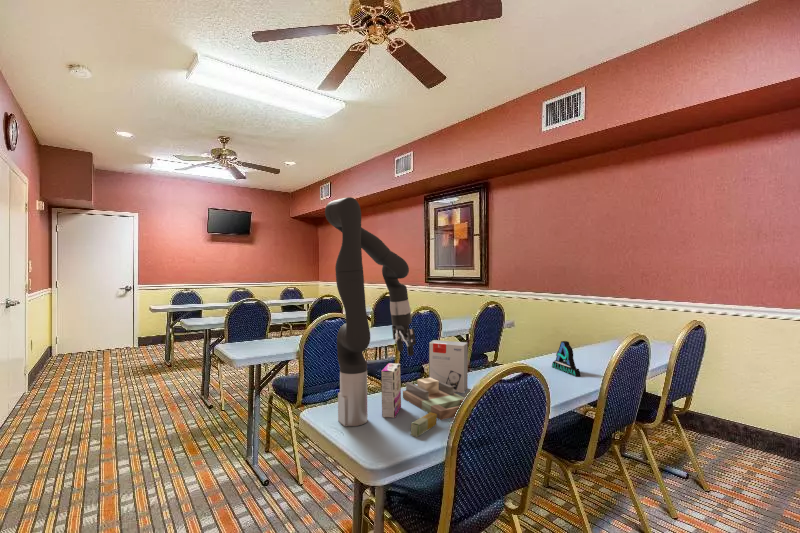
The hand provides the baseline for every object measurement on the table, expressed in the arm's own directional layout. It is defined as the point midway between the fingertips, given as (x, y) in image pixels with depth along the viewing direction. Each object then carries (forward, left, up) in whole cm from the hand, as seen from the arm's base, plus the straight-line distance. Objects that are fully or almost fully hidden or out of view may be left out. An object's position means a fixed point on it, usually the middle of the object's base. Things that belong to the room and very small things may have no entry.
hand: (405, 353), depth 154 cm
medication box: (-8, -25, -20) cm, 33 cm away
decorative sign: (+90, -1, -19) cm, 92 cm away
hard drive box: (+24, +6, -19) cm, 32 cm away
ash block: (+9, -1, -16) cm, 19 cm away
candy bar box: (-10, -6, -19) cm, 22 cm away
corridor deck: (+9, -8, -19) cm, 23 cm away
